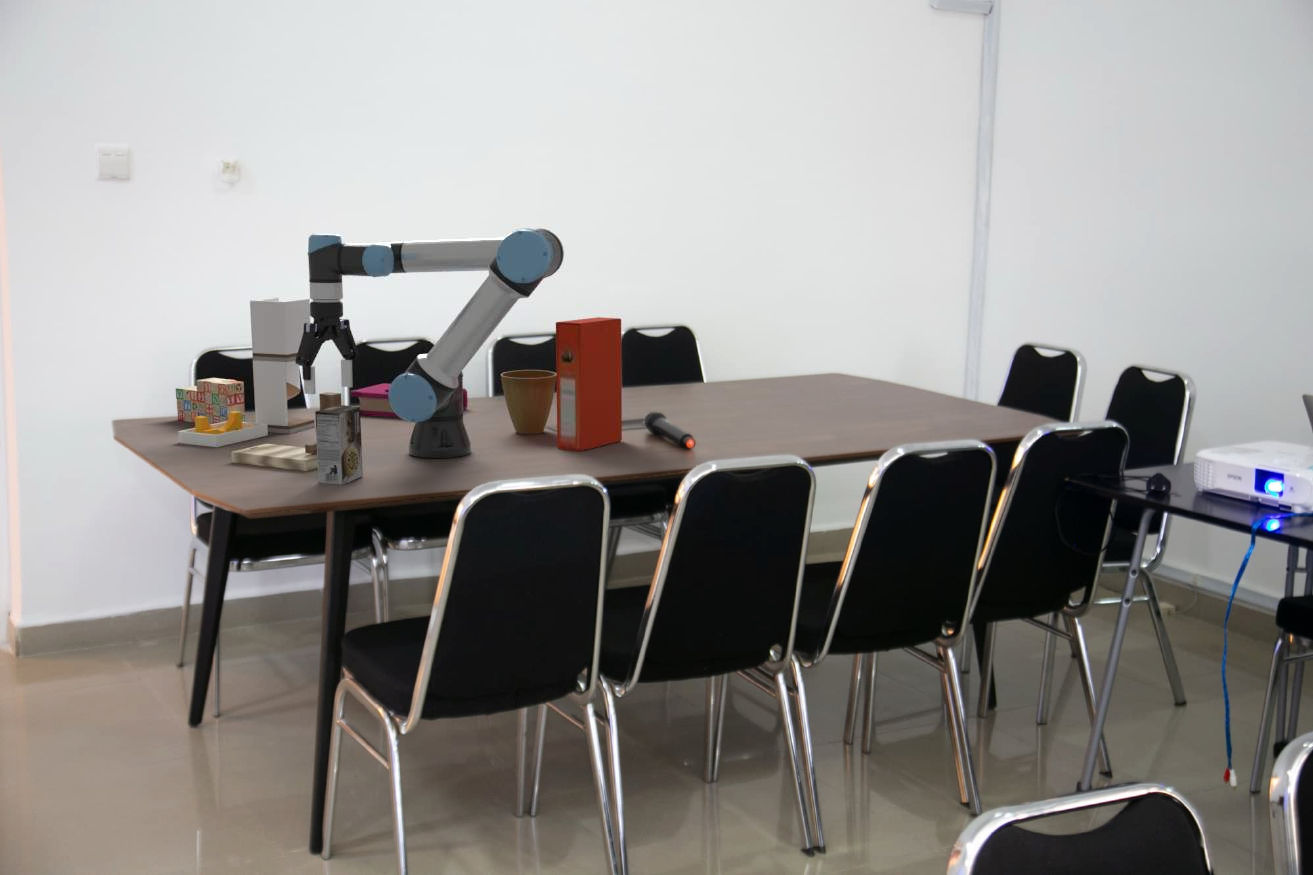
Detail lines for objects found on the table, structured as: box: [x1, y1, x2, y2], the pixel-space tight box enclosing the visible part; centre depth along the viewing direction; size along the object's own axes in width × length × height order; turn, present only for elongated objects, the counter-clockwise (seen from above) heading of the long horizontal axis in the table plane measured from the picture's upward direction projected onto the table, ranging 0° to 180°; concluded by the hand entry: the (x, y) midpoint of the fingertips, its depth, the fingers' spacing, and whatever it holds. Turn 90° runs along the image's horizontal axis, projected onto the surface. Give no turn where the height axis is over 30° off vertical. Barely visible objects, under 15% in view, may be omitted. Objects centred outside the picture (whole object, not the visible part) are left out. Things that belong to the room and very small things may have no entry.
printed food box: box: [314, 404, 364, 486], centre depth 283 cm, size 9×6×16 cm
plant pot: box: [500, 369, 557, 435], centre depth 343 cm, size 15×15×16 cm
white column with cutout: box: [249, 297, 316, 435], centre depth 343 cm, size 11×11×35 cm
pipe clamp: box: [194, 411, 242, 435], centre depth 331 cm, size 12×4×6 cm, turn 143°
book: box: [349, 383, 469, 418], centre depth 376 cm, size 21×28×8 cm
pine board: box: [230, 443, 318, 472], centre depth 303 cm, size 22×12×3 cm, turn 65°
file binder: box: [555, 316, 623, 452], centre depth 325 cm, size 8×17×32 cm, turn 146°
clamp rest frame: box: [177, 421, 269, 448], centre depth 331 cm, size 13×19×3 cm
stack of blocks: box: [175, 377, 246, 425], centre depth 355 cm, size 21×6×12 cm, turn 58°
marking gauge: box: [304, 391, 342, 454], centre depth 301 cm, size 5×10×16 cm, turn 155°
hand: (328, 390), depth 303 cm, fingers open, 13 cm apart
